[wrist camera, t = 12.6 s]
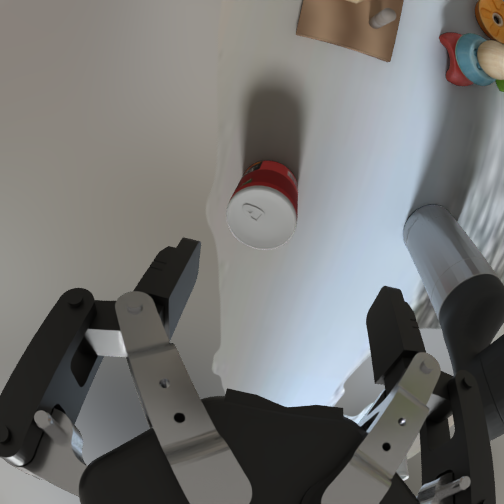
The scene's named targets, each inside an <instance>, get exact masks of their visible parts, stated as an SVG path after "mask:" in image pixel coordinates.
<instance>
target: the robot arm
mask: <svg viewBox="0 0 504 504" xmlns="http://www.w3.org/2000/svg"><path fill="white" fill-rule="evenodd" d="M403 238H404V242H405V245H406V247H407V249H408V251H409V253H410V255H411V257H412V260H413V262H414V264H415V266H416V268H417V270H418V272H419V275H420V277H421V279H422V281H423V284H424V286H425V288H426V291H427V293H428V295H429V298H430V300H431V303H432V305H433V307H434V310H435V312H436V315H437V317H438V320H439V323H440V325H441V328H442V331H443V336H444V340H445V343H446V346H447V349H448V352H449V356H450V360H451V363H452V367H453V372H454V376H451V375H449V374H447V373H444V372H442V371H441V370H440V366H439V363H438V362H437V360H436V359H435V358H434V357H433V356H432V355H430V354H428V353H426V351H425V347H424V344H423V341H422V337H421V333H420V330H419V329H418V328H419V327H418V324H417V322H416V318H415V315H414V312H413V310H412V309H411V307H410V306H409V304H408V303H407V302H405V301H404V298H403V295H402V292H401V290H400V289H396V288H392V287H388V286H384V287H382V289H381V290H380V292H379V294H378V296H377V297H376V299H375V301H374V302H373V304H372V306H371V308H370V309H369V311H368V314H367V318H366V325H367V331H368V337H369V344H370V350H371V357H372V365H373V372H374V380H375V384H384V385H385V389H384V390H383V391H382V392H381V394H380V395H379V397H378V398H377V399H376V401H375V402H374V403H373V405H372V406H371V408H370V409H369V410H368V412H367V413H366V414H365V416H364V417H363V418H362V419H361V421H360V422H359V423H358V424H357V423H355V422H354V421H352V420H350V419H348V418H346V417H343V408H338V407H329V406H321V405H311V406H300V407H284V406H282V405H279V404H277V403H274V402H272V401H270V400H267V399H265V398H263V397H260V396H258V395H255V394H250V393H245V392H241V391H236V390H232V389H227V391H226V394H225V396H214V397H208V398H204V399H200V397H199V395H198V393H197V391H196V389H195V387H194V385H193V383H192V381H191V379H190V376H189V374H188V372H187V370H186V368H185V365H184V363H183V361H182V359H181V357H180V355H179V352H178V350H177V348H176V346H175V345H174V344H173V343H172V344H171V343H170V342H169V341H170V340H171V337H172V335H173V333H174V330H175V328H176V326H177V323H178V321H179V319H180V316H181V314H182V312H183V309H184V307H185V305H186V302H187V300H188V298H189V296H190V294H191V292H192V289H193V287H194V285H195V282H196V279H197V275H198V268H199V258H200V248H201V242H200V241H196V240H192V239H188V238H182V240H181V241H180V243H179V244H178V246H177V247H176V248H174V247H170V246H168V247H166V248H165V249H163V250H162V251H160V252H159V253H158V255H157V256H156V258H155V259H154V261H153V262H152V264H151V265H150V267H149V268H148V270H147V271H146V272H145V274H144V275H143V277H142V279H141V280H140V282H139V283H138V285H137V286H136V288H135V289H134V291H132V292H128V293H125V294H123V295H122V296H120V297H119V298H118V299H117V301H99V300H94V297H93V295H92V293H91V292H89V291H88V290H86V289H83V288H74V289H71V290H68V291H66V292H65V293H64V294H63V295H62V296H61V297H60V298H59V300H58V301H57V303H56V304H55V306H54V307H53V309H52V310H51V311H50V313H49V314H48V316H47V317H46V319H45V320H44V322H43V323H42V325H41V326H40V328H39V330H38V331H37V333H36V334H35V336H34V337H33V339H32V341H31V342H30V344H29V345H28V347H27V349H26V351H25V352H24V354H23V355H22V357H21V359H20V361H19V362H18V364H17V366H16V368H15V369H14V371H13V373H12V374H11V376H10V378H9V380H8V382H7V384H6V386H5V388H4V389H3V391H2V393H1V395H0V457H1V458H3V459H4V460H5V461H7V462H8V463H9V464H11V465H12V466H14V467H16V468H18V469H19V470H21V471H23V472H25V473H26V474H29V475H32V476H34V477H36V478H38V479H41V480H46V481H48V482H50V483H52V484H54V485H56V486H58V487H60V488H61V489H64V490H66V491H68V492H70V493H72V494H74V495H76V496H78V497H79V498H80V502H81V504H496V497H495V481H494V470H493V461H492V454H491V446H490V441H491V440H493V439H495V438H497V437H499V436H501V435H502V434H504V334H503V335H502V336H501V337H499V338H498V339H497V340H496V341H494V342H493V343H492V344H490V343H491V342H492V340H493V338H494V337H495V335H496V334H497V332H498V331H499V329H500V327H501V326H502V324H503V323H504V285H503V284H502V282H501V281H500V279H499V278H498V276H497V275H496V273H495V272H494V270H493V269H492V267H491V266H490V265H489V263H488V262H487V260H486V259H485V258H484V256H483V255H482V253H481V252H480V251H479V249H478V248H477V247H476V245H475V244H474V243H473V241H472V240H471V239H470V237H469V236H468V235H467V234H466V232H465V231H464V230H463V229H462V227H461V226H460V225H459V224H458V222H457V221H456V220H455V219H454V218H453V216H452V215H451V214H450V213H449V212H448V210H446V209H445V208H444V207H442V206H439V205H427V206H423V207H421V208H419V209H418V210H416V211H415V212H414V213H413V214H412V215H411V216H410V217H409V219H408V220H407V222H406V224H405V227H404V232H403ZM104 356H117V357H126V359H127V362H128V365H129V369H130V372H131V375H132V378H133V381H134V384H135V387H136V391H137V393H138V396H139V400H140V402H141V405H142V408H143V411H144V414H145V417H146V419H147V422H148V425H149V427H150V429H149V430H147V431H145V432H144V433H142V434H140V435H138V436H137V437H135V438H133V439H131V440H130V441H128V442H126V443H124V444H123V445H121V446H119V447H117V448H115V449H114V450H112V451H110V452H108V453H106V454H104V455H102V456H101V457H99V458H97V459H95V460H94V461H92V462H91V463H90V464H89V465H88V466H87V465H86V464H85V462H84V460H83V457H82V447H83V438H82V435H81V433H80V431H79V430H78V429H77V427H76V426H75V425H74V424H75V422H76V419H77V417H78V414H79V412H80V410H81V407H82V404H83V402H84V400H85V398H86V395H87V393H88V391H89V388H90V386H91V384H92V381H93V379H94V377H95V375H96V372H97V370H98V368H99V366H100V364H101V362H102V359H103V357H104ZM452 414H453V419H454V425H455V433H454V436H453V437H452V438H451V439H450V432H449V424H448V417H450V416H451V415H452ZM419 431H420V444H421V464H422V487H421V489H420V490H419V493H418V496H416V497H415V495H414V494H413V493H412V492H411V490H410V489H409V488H408V486H407V485H406V484H405V483H404V481H403V480H402V479H401V477H400V476H399V475H398V473H397V472H396V471H397V469H398V468H399V466H400V464H401V463H402V461H403V460H404V458H405V456H406V454H407V453H408V451H409V449H410V448H411V446H412V444H413V442H414V440H415V439H416V437H417V435H418V433H419Z"/></svg>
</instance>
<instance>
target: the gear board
mask: <svg viewBox="0 0 504 504" xmlns="http://www.w3.org/2000/svg"><path fill="white" fill-rule="evenodd" d="M402 6H403V0H364V1H362V2H359V3H357V4H356V3H353V2H350V1H346V0H303V5H302V9H301V14H300V18H299V23H298V27H297V31H296V35H299V36H303V37H308V38H312V39H316V40H320V41H324V42H328V43H331V44H335V45H338V46H342V47H345V48H348V49H351V50H354V51H358V52H361V53H364V54H366V55H369V56H372V57H375V58H378V59H380V60H383V61H386V62H390V61H391V57H392V52H393V48H394V44H395V39H396V35H397V30H398V26H399V21H400V16H401V11H402Z"/></svg>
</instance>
